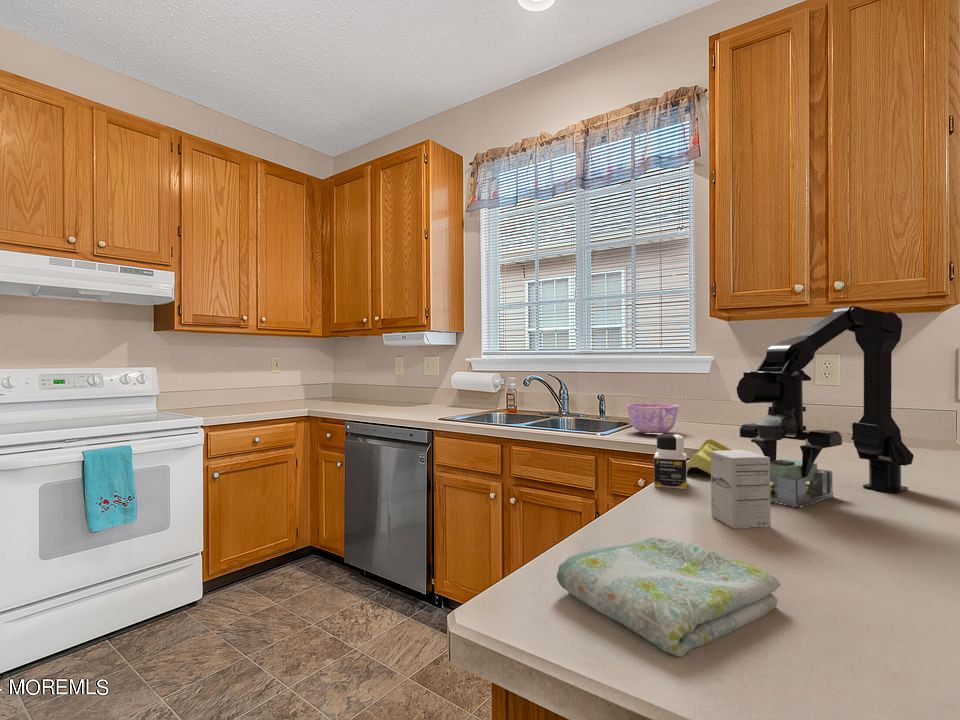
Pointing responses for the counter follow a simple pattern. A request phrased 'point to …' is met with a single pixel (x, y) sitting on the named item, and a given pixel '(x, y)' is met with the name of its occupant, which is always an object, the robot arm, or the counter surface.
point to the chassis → (802, 489)
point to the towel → (670, 590)
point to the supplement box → (740, 488)
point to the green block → (790, 470)
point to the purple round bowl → (653, 417)
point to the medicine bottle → (670, 462)
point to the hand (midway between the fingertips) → (788, 474)
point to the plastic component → (705, 455)
